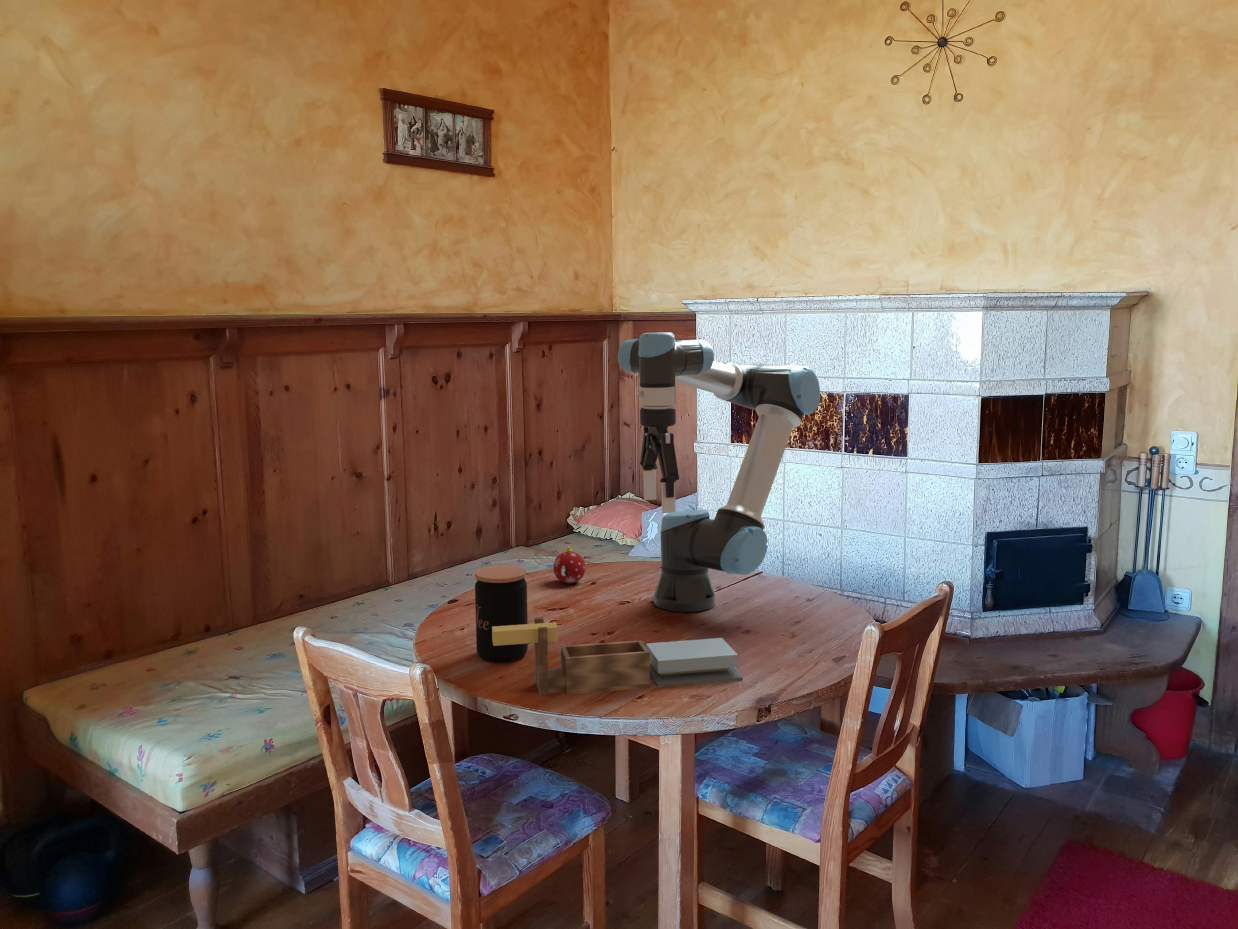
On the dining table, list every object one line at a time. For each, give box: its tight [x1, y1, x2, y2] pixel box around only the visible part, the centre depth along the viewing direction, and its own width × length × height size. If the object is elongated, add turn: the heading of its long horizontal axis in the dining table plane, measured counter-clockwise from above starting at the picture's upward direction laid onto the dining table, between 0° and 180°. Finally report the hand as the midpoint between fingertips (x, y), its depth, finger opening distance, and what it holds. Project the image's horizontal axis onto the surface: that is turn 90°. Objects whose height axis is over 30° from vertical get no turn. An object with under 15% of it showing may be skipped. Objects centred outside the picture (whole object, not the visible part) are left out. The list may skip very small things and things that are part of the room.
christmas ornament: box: [552, 546, 587, 585], centre depth 248 cm, size 9×9×10 cm
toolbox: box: [533, 617, 651, 698], centre depth 177 cm, size 21×7×13 cm, turn 102°
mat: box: [650, 662, 744, 688], centre depth 185 cm, size 17×13×1 cm
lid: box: [645, 637, 739, 675], centre depth 185 cm, size 16×10×4 cm, turn 102°
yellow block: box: [492, 621, 559, 646], centre depth 174 cm, size 12×3×3 cm, turn 102°
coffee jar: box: [474, 564, 529, 664], centre depth 193 cm, size 11×11×18 cm
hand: (659, 505), depth 199 cm, fingers open, 13 cm apart
